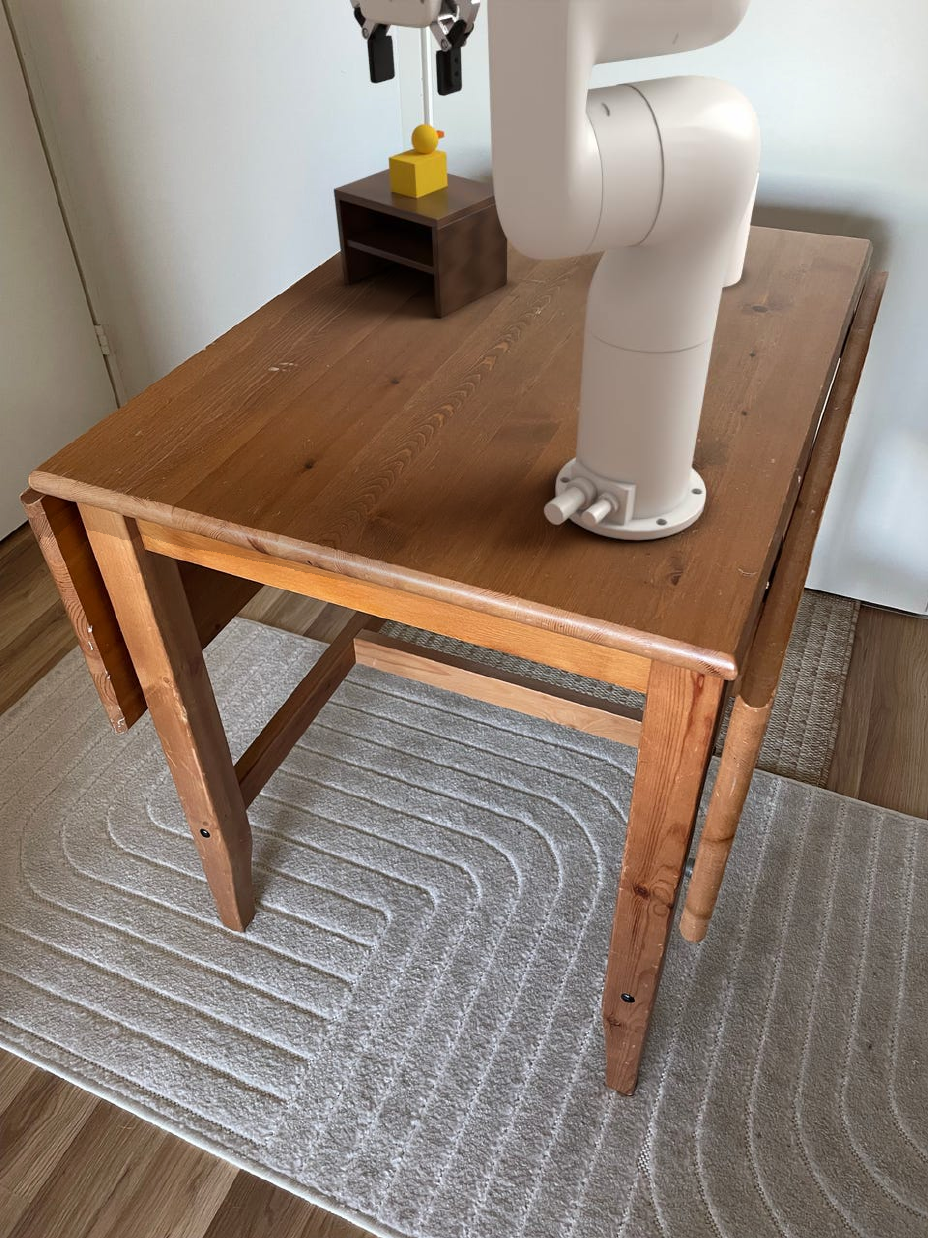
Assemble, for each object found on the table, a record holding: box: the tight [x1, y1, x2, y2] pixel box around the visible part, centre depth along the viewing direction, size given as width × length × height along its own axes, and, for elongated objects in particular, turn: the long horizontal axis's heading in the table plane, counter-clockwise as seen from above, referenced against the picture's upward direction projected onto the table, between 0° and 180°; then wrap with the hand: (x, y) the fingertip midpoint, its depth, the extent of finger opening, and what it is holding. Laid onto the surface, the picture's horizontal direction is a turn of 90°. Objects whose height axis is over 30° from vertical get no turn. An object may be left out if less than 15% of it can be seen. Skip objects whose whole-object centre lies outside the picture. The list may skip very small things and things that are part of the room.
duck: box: [388, 123, 448, 199], centre depth 104 cm, size 7×4×6 cm, turn 139°
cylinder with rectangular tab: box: [723, 172, 760, 288], centre depth 109 cm, size 9×9×12 cm
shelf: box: [333, 168, 508, 319], centre depth 109 cm, size 12×16×11 cm
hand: (415, 86), depth 98 cm, fingers open, 9 cm apart
